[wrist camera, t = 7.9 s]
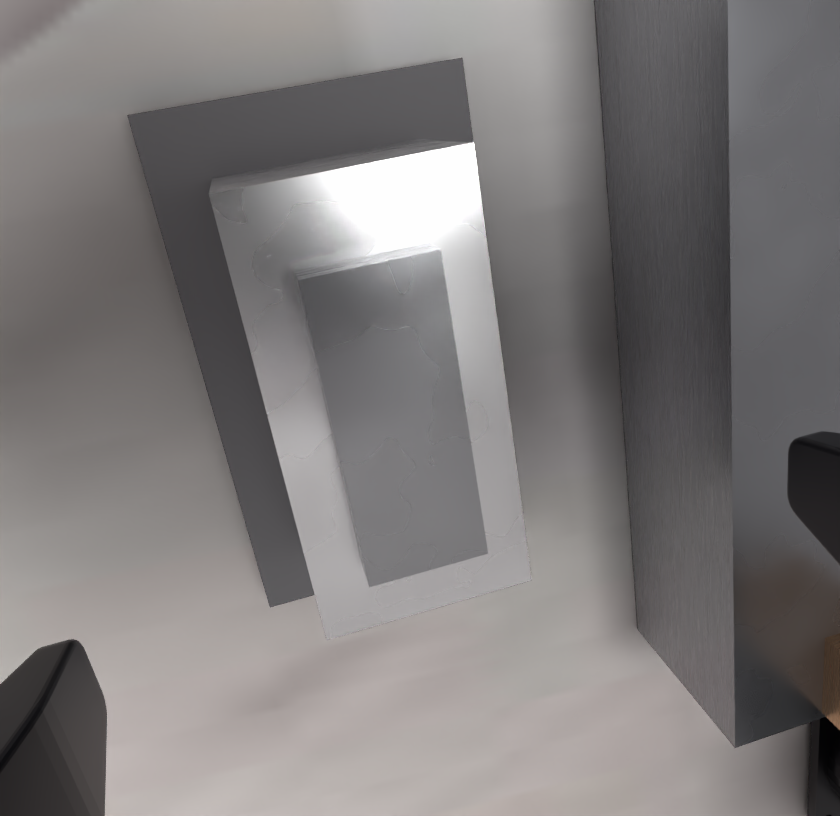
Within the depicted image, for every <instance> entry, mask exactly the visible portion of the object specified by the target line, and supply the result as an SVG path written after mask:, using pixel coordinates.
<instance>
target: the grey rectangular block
mask: <svg viewBox="0 0 840 816" xmlns="http://www.w3.org/2000/svg"><path fill="white" fill-rule="evenodd" d="M209 197H210V201H211V204H212V208H213V212H214V216H215V220H216V223H217V227H218V231H219V235H220V238H221V242H222V246H223V250H224V254H225V257H226V261H227V265H228V269H229V273H230V276H231V280H232V284H233V288H234V291H235V295H236V299H237V303H238V307H239V310H240V314H241V318H242V322H243V325H244V329H245V333H246V337H247V341H248V344H249V348H250V352H251V356H252V360H253V363H254V367H255V371H256V375H257V378H258V382H259V386H260V390H261V394H262V397H263V401H264V405H265V409H266V413H267V416H268V420H269V424H270V428H271V431H272V435H273V439H274V443H275V447H276V450H277V454H278V458H279V462H280V466H281V469H282V473H283V477H284V481H285V484H286V488H287V492H288V496H289V500H290V503H291V507H292V511H293V515H294V519H295V522H296V526H297V530H298V534H299V537H300V541H301V545H302V549H303V553H304V556H305V560H306V564H307V568H308V572H309V575H310V579H311V583H312V587H313V590H314V594H315V598H316V602H317V606H318V609H319V613H320V617H321V621H322V624H323V628H324V632H325V636H326V640H330V639H333V638H337V637H340V636H343V635H347V634H350V633H354V632H357V631H361V630H364V629H367V628H371V627H374V626H378V625H381V624H384V623H388V622H391V621H395V620H398V619H402V618H405V617H408V616H412V615H415V614H419V613H422V612H425V611H429V610H432V609H436V608H439V607H443V606H446V605H449V604H453V603H456V602H460V601H463V600H466V599H470V598H473V597H477V596H480V595H483V594H487V593H490V592H494V591H497V590H501V589H504V588H507V587H511V586H514V585H518V584H521V583H524V582H528V581H531V580H532V577H531V569H530V562H529V554H528V547H527V539H526V532H525V524H524V517H523V509H522V501H521V494H520V486H519V479H518V471H517V464H516V456H515V449H514V441H513V434H512V426H511V418H510V411H509V403H508V396H507V388H506V381H505V373H504V366H503V358H502V351H501V343H500V335H499V328H498V320H497V313H496V305H495V298H494V290H493V283H492V275H491V268H490V260H489V253H488V245H487V237H486V230H485V222H484V215H483V207H482V200H481V192H480V185H479V177H478V170H477V162H476V154H475V147H474V143H471V142H455V141H439V140H423V139H418V140H413V141H407V142H402V143H397V144H392V145H386V146H381V147H376V148H371V149H365V150H360V151H355V152H350V153H345V154H339V155H334V156H329V157H324V158H318V159H313V160H308V161H303V162H297V163H292V164H287V165H282V166H276V167H271V168H266V169H261V170H255V171H250V172H245V173H240V174H235V175H229V176H224V177H219V178H214V179H212V182H211V187H210V191H209Z"/></svg>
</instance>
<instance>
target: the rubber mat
mask: <svg viewBox="0 0 840 816" xmlns="http://www.w3.org/2000/svg"><path fill="white" fill-rule="evenodd" d="M127 116H128V119H129V122H130V126H131V129H132V133H133V136H134V140H135V143H136V147H137V150H138V153H139V157H140V160H141V164H142V167H143V171H144V174H145V178H146V181H147V185H148V188H149V191H150V195H151V198H152V202H153V205H154V209H155V212H156V216H157V219H158V222H159V226H160V229H161V233H162V236H163V240H164V243H165V247H166V250H167V254H168V257H169V260H170V264H171V267H172V271H173V274H174V278H175V281H176V285H177V288H178V292H179V295H180V298H181V302H182V305H183V309H184V312H185V316H186V319H187V323H188V326H189V329H190V333H191V336H192V340H193V343H194V347H195V350H196V354H197V357H198V361H199V364H200V367H201V371H202V374H203V378H204V381H205V385H206V388H207V392H208V395H209V398H210V402H211V405H212V409H213V412H214V416H215V419H216V423H217V426H218V430H219V433H220V436H221V440H222V443H223V447H224V450H225V454H226V457H227V461H228V464H229V468H230V471H231V474H232V478H233V481H234V485H235V488H236V492H237V495H238V499H239V502H240V505H241V509H242V512H243V516H244V519H245V523H246V526H247V530H248V533H249V537H250V540H251V543H252V547H253V550H254V554H255V557H256V561H257V564H258V568H259V571H260V574H261V578H262V581H263V585H264V588H265V592H266V595H267V599H268V602H269V606H270V607H273V606H277V605H280V604H284V603H287V602H291V601H294V600H298V599H302V598H305V597H309V596H312V595H315V594H314V590H313V587H312V583H311V579H310V575H309V572H308V568H307V564H306V560H305V556H304V553H303V549H302V545H301V541H300V537H299V534H298V530H297V526H296V522H295V519H294V515H293V511H292V507H291V503H290V500H289V496H288V492H287V488H286V484H285V481H284V477H283V473H282V469H281V466H280V462H279V458H278V454H277V450H276V447H275V443H274V439H273V435H272V431H271V428H270V424H269V420H268V416H267V413H266V409H265V405H264V401H263V397H262V394H261V390H260V386H259V382H258V378H257V375H256V371H255V367H254V363H253V360H252V356H251V352H250V348H249V344H248V341H247V337H246V333H245V329H244V325H243V322H242V318H241V314H240V310H239V307H238V303H237V299H236V295H235V291H234V288H233V284H232V280H231V276H230V273H229V269H228V265H227V261H226V257H225V254H224V250H223V246H222V242H221V238H220V235H219V231H218V227H217V223H216V220H215V216H214V212H213V208H212V204H211V201H210V197H209V191H210V187H211V182H212V179H214V178H219V177H224V176H229V175H235V174H240V173H245V172H250V171H255V170H261V169H266V168H271V167H276V166H282V165H287V164H292V163H297V162H303V161H308V160H313V159H318V158H324V157H329V156H334V155H339V154H345V153H350V152H355V151H360V150H365V149H371V148H376V147H381V146H386V145H392V144H397V143H402V142H407V141H413V140H418V139H423V140H439V141H455V142H471V143H473V136H472V128H471V120H470V113H469V105H468V97H467V90H466V82H465V74H464V67H463V59H462V58H458V59H452V60H446V61H440V62H434V63H429V64H423V65H417V66H411V67H405V68H400V69H394V70H388V71H382V72H376V73H370V74H365V75H359V76H353V77H347V78H341V79H336V80H330V81H324V82H318V83H312V84H307V85H301V86H295V87H289V88H283V89H277V90H272V91H266V92H260V93H254V94H248V95H243V96H237V97H231V98H225V99H219V100H213V101H208V102H202V103H196V104H190V105H184V106H179V107H173V108H167V109H161V110H155V111H149V112H144V113H138V114H132V115H127Z"/></svg>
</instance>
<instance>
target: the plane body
mask: <svg viewBox="0 0 840 816" xmlns="http://www.w3.org/2000/svg"><path fill="white" fill-rule="evenodd" d="M595 12H596V27H597V41H598V56H599V71H600V85H601V100H602V114H603V129H604V143H605V158H606V173H607V187H608V202H609V216H610V231H611V246H612V260H613V275H614V289H615V304H616V318H617V333H618V348H619V362H620V377H621V391H622V406H623V421H624V435H625V450H626V464H627V479H628V493H629V508H630V523H631V537H632V552H633V566H634V581H635V595H636V610H637V625H638V631H639V632H640V633H641V634H642V635H643V637H644V638H645V639H646V640H647V641H648V643H649V644H650V645H651V646H652V648H653V649H654V650H655V651H656V652H657V654H658V655H659V656H660V657H661V658H662V660H663V661H664V662H665V663H666V665H667V666H668V667H669V668H670V669H671V671H672V672H673V673H674V674H675V675H676V677H677V678H678V679H679V680H680V682H681V683H682V684H683V685H684V686H685V688H686V689H687V690H688V691H689V693H690V694H691V695H692V696H693V697H694V699H695V700H696V701H697V702H698V703H699V705H700V706H701V707H702V708H703V710H704V711H705V712H706V713H707V714H708V716H709V717H710V718H711V719H712V720H713V722H714V723H715V724H716V725H717V727H718V728H719V729H720V730H721V731H722V733H723V734H724V735H725V736H726V737H727V739H728V740H729V741H730V742H731V744H732V745H733V746H734V747H735V748H736V747H739V746H742V745H745V744H748V743H751V742H754V741H756V740H759V739H762V738H765V737H768V736H771V735H774V734H777V733H780V732H783V731H786V730H789V729H791V728H794V727H797V726H800V725H803V724H806V723H809V722H812V721H815V720H818V719H821V718H824V717H827V718H828V719H829V720H830V721H831V722H832V723H833V724H834V725H835V726H836V727H837V728H838V729H839V730H840V565H839V564H838V563H837V562H836V561H835V560H834V558H833V557H832V556H831V555H830V554H829V553H828V552H827V550H826V549H825V548H824V547H823V546H822V545H821V544H820V542H819V541H818V540H817V539H816V538H815V537H814V536H813V534H812V533H811V532H810V531H809V530H808V529H807V527H806V526H805V525H804V524H803V523H802V522H801V521H800V519H799V518H798V517H797V516H796V515H795V513H794V512H793V510H792V509H791V507H790V504H789V501H788V497H787V476H788V449H789V446H790V443H791V442H792V441H793V440H794V439H796V438H798V437H801V436H805V435H808V434H812V433H815V432H821V431H827V432H835V433H840V0H595Z"/></svg>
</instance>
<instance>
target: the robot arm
mask: <svg viewBox="0 0 840 816" xmlns="http://www.w3.org/2000/svg"><path fill="white" fill-rule="evenodd" d="M787 497H788V501H789V504H790V507H791V509H792V510H793V512H794V513H795V515H796V516H797V517H798V518H799V519H800V521H801V522H802V523H803V524H804V525H805V526H806V527H807V529H808V530H809V531H810V532H811V533H812V534H813V536H814V537H815V538H816V539H817V540H818V541H819V542H820V544H821V545H822V546H823V547H824V548H825V549H826V550H827V552H828V553H829V554H830V555H831V556H832V557H833V558H834V560H835V561H836V562H837V563H838V564H839V565H840V433H835V432H827V431H821V432H815V433H812V434H808V435H805V436H801V437H798V438H796V439H794V440H793V441H792V442H791V443H790V446H789V449H788V476H787ZM106 737H107V710H106V703H105V699H104V695H103V693H102V690H101V688H100V685H99V683H98V681H97V678H96V676H95V673H94V671H93V669H92V666H91V664H90V661H89V659H88V656H87V654H86V652H85V649H84V647H83V646H82V645H81V643H80V642H79V641H77V640H74V639H71V640H66V641H62V642H59V643H55V644H52V645H48V646H44V647H41V648H39V649H37V650H36V651H35V652H34V653H33V654H32V655H31V656H30V657H29V658H28V659H27V660H25V661H24V662H23V663H22V664H21V665H20V666H19V667H18V668H17V669H16V670H15V671H14V672H13V673H12V674H11V675H10V676H9V677H8V678H7V679H5V680H4V681H3V682H2V683H1V684H0V816H105V781H106ZM808 816H840V730H839V729H838V728H837V727H836V726H835V725H834V724H833V723H832V722H831V721H830V720H829V719H828V718H827V717H824V718H821V719H818V720H815V721H812V722H811V745H810V770H809V795H808Z"/></svg>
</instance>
